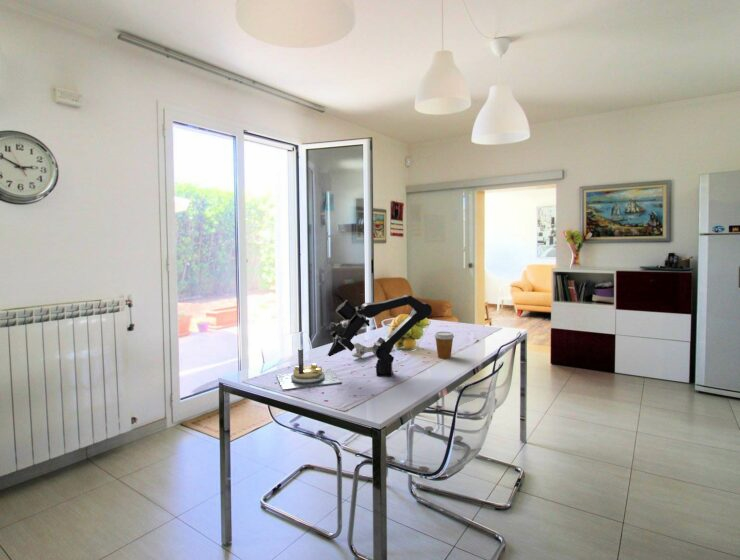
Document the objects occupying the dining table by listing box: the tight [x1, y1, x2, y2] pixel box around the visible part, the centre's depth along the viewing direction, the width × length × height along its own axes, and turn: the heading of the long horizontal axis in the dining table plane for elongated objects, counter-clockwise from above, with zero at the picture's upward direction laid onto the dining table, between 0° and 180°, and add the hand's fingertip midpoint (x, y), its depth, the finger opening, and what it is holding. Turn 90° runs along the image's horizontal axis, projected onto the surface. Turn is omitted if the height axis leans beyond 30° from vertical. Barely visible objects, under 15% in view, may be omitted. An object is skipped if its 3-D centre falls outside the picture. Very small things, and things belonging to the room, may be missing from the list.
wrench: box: [351, 342, 395, 359], centre depth 221 cm, size 8×2×30 cm
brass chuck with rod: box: [292, 348, 323, 379], centre depth 181 cm, size 12×12×12 cm
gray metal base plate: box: [276, 368, 343, 391], centre depth 182 cm, size 24×20×2 cm
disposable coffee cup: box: [434, 331, 455, 359], centre depth 214 cm, size 10×10×12 cm
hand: (328, 355), depth 180 cm, fingers closed
